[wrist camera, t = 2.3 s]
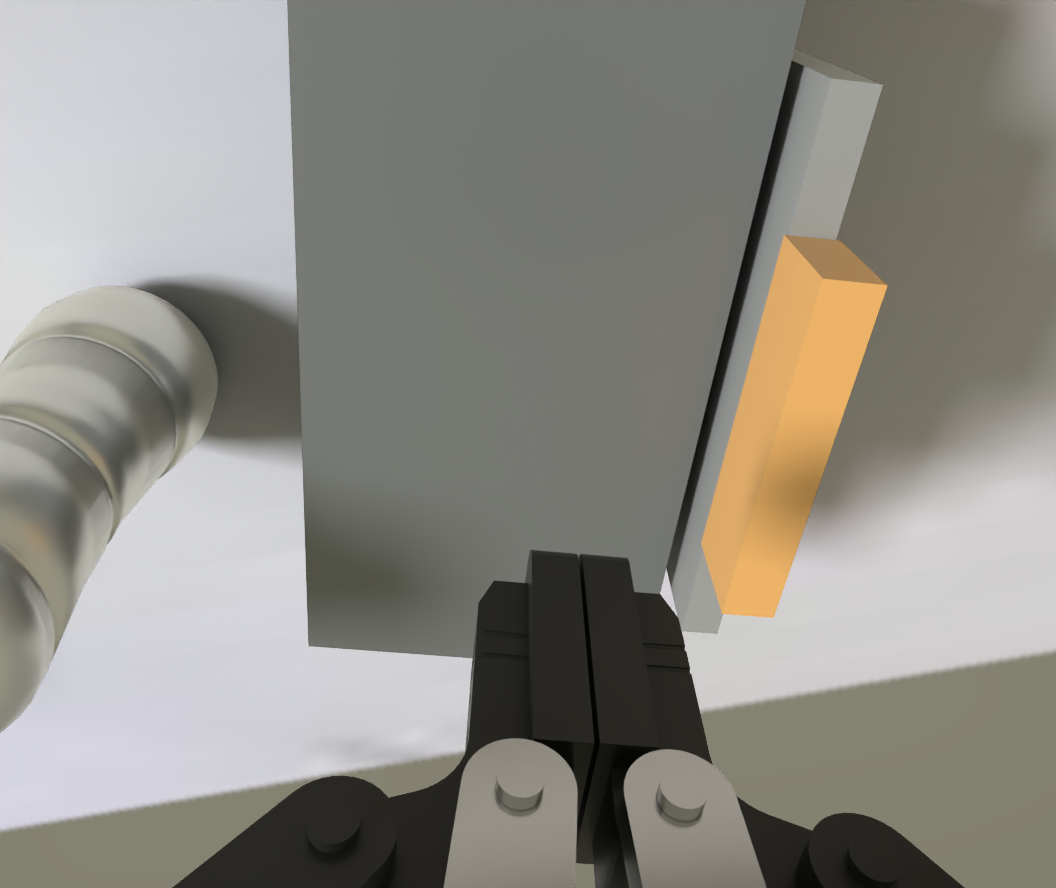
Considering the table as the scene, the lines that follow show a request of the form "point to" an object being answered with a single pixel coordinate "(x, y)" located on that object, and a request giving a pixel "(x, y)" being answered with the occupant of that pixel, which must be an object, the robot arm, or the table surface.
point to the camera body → (511, 285)
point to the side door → (780, 358)
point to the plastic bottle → (84, 453)
